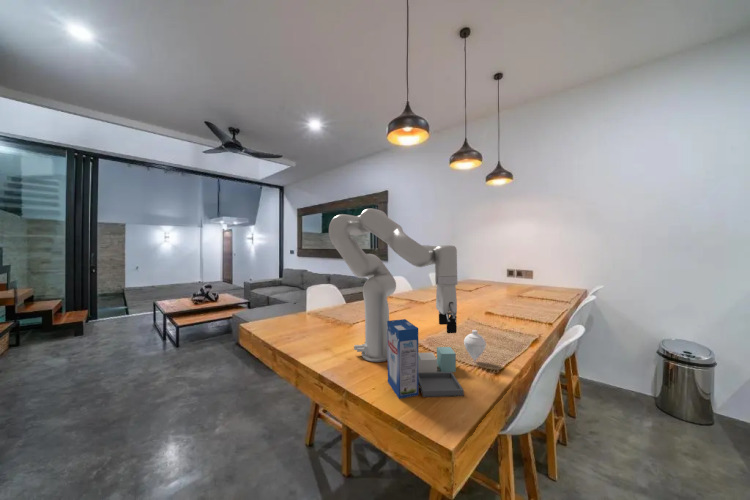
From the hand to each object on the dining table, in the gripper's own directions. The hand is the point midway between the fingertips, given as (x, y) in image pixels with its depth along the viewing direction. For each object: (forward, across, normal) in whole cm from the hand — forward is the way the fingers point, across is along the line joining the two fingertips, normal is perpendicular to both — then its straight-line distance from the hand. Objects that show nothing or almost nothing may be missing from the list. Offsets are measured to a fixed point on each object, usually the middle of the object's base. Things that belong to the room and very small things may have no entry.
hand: (447, 328), depth 96 cm
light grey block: (+14, 0, -9) cm, 17 cm away
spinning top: (+15, -4, +11) cm, 19 cm away
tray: (+14, +12, -7) cm, 20 cm away
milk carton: (+14, +12, -18) cm, 26 cm away
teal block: (+14, 0, -1) cm, 14 cm away
